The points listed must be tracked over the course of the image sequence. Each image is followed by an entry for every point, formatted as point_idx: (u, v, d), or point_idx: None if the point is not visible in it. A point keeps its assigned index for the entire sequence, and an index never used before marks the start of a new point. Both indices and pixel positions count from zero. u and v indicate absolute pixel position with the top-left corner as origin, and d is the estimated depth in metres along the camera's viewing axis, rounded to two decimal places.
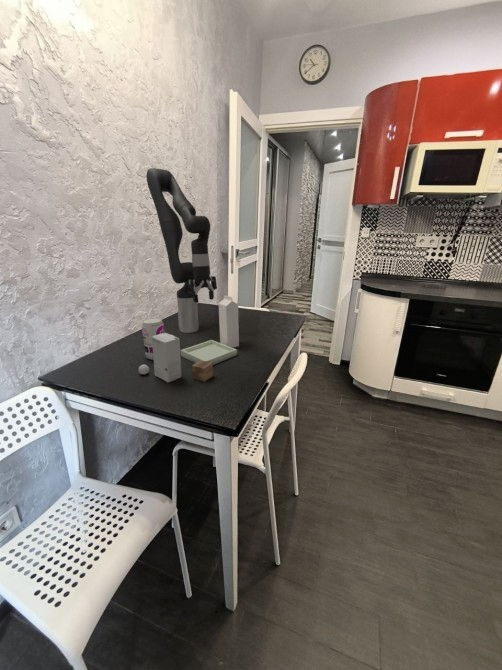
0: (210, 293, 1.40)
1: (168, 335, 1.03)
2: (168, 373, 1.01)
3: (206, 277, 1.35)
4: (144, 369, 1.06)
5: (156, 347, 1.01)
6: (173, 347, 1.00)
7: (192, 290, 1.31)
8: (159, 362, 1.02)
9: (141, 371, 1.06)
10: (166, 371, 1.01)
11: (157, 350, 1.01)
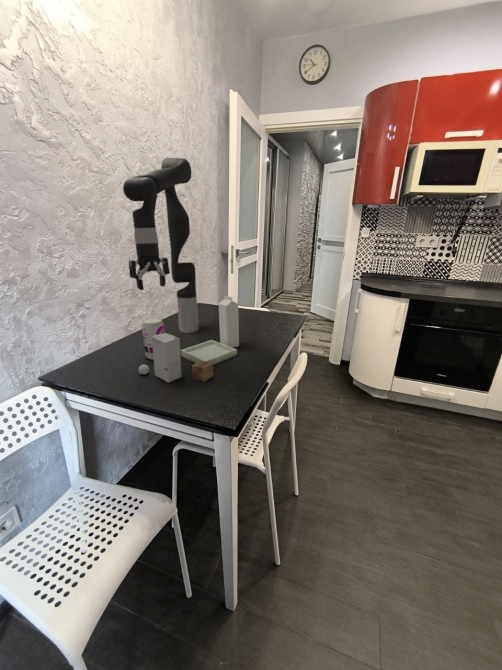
0: (161, 279, 1.13)
1: (168, 335, 1.03)
2: (168, 373, 1.01)
3: (154, 258, 1.08)
4: (144, 369, 1.06)
5: (156, 347, 1.01)
6: (173, 347, 1.00)
7: (134, 274, 1.04)
8: (159, 362, 1.02)
9: (141, 371, 1.06)
10: (166, 371, 1.01)
11: (157, 350, 1.01)
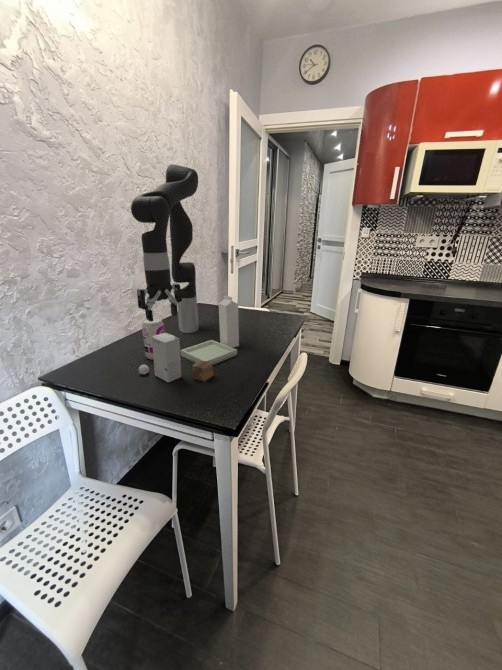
0: (172, 307, 1.01)
1: (168, 335, 1.03)
2: (168, 373, 1.01)
3: (165, 285, 0.96)
4: (144, 369, 1.06)
5: (156, 347, 1.01)
6: (173, 347, 1.00)
7: (143, 304, 0.92)
8: (159, 362, 1.02)
9: (141, 371, 1.06)
10: (166, 371, 1.01)
11: (157, 350, 1.01)
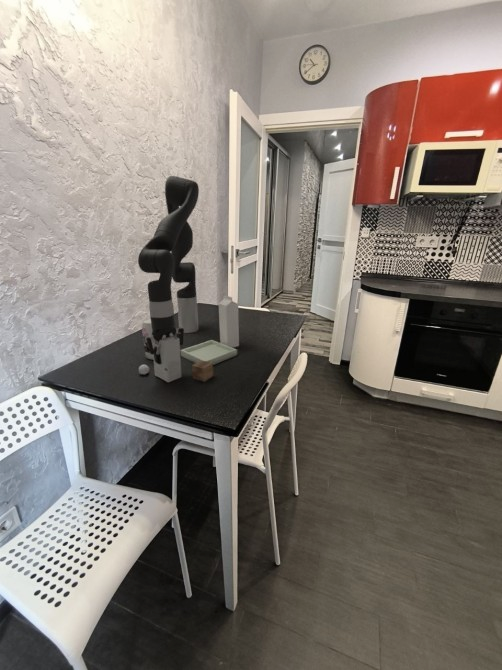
0: None
1: None
2: (168, 373, 1.01)
3: (170, 329, 1.01)
4: (144, 369, 1.06)
5: None
6: (173, 347, 1.00)
7: (151, 350, 0.98)
8: None
9: (141, 371, 1.06)
10: (166, 371, 1.01)
11: None
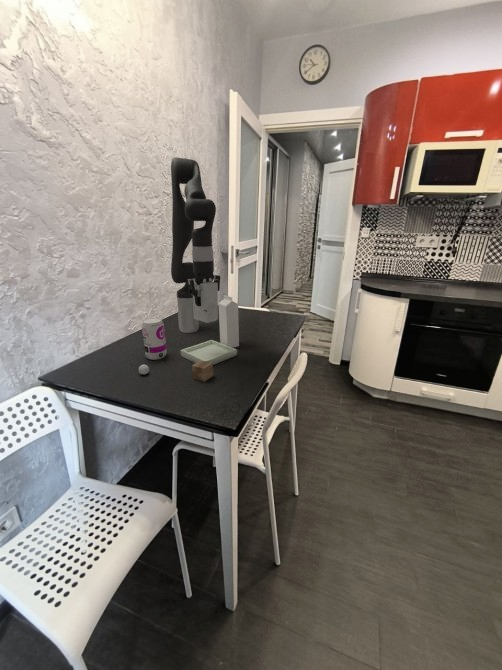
0: None
1: None
2: (207, 314, 1.12)
3: (209, 275, 1.12)
4: (144, 369, 1.06)
5: (197, 290, 1.12)
6: (212, 290, 1.11)
7: (194, 291, 1.09)
8: None
9: (141, 371, 1.06)
10: (206, 312, 1.12)
11: None
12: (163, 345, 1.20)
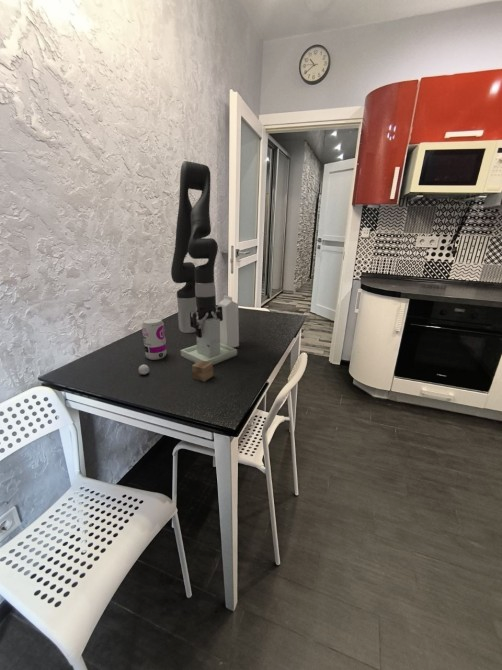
0: None
1: None
2: (210, 349, 1.17)
3: (211, 308, 1.17)
4: (144, 369, 1.06)
5: None
6: (215, 326, 1.16)
7: (195, 324, 1.13)
8: (202, 339, 1.19)
9: (141, 371, 1.06)
10: (209, 347, 1.17)
11: (201, 329, 1.18)
12: (163, 345, 1.20)
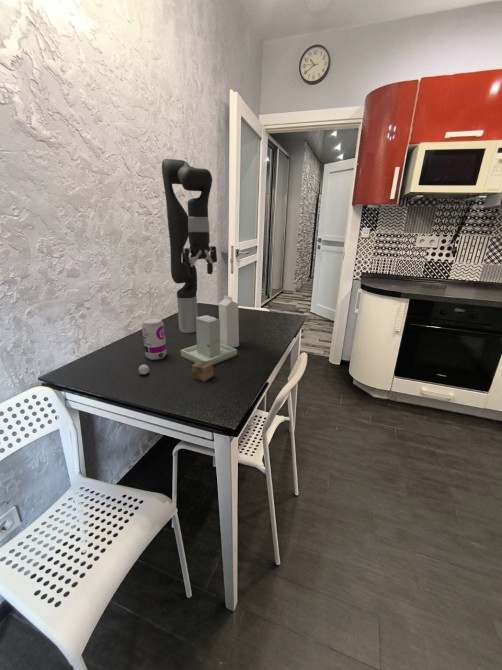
0: (209, 266, 1.18)
1: (210, 317, 1.19)
2: (210, 349, 1.17)
3: (204, 246, 1.13)
4: (144, 369, 1.06)
5: (200, 326, 1.18)
6: (215, 326, 1.16)
7: (187, 261, 1.09)
8: (202, 339, 1.19)
9: (141, 371, 1.06)
10: (209, 347, 1.17)
11: (201, 329, 1.18)
12: (163, 345, 1.20)
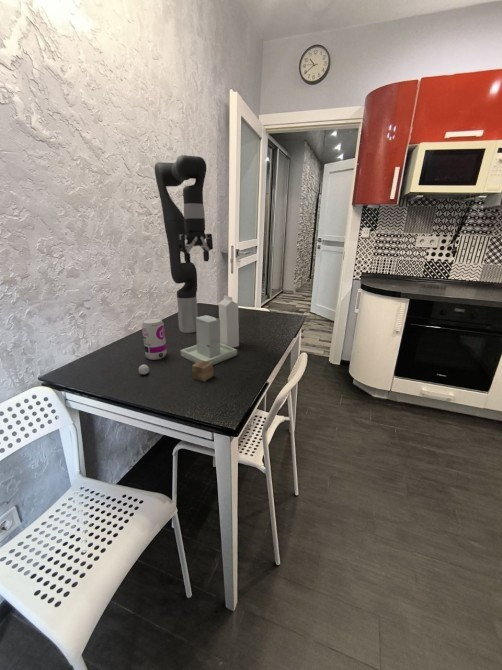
0: (205, 254, 1.20)
1: (210, 317, 1.19)
2: (210, 349, 1.17)
3: (200, 233, 1.15)
4: (144, 369, 1.06)
5: (200, 326, 1.18)
6: (215, 326, 1.16)
7: (183, 247, 1.11)
8: (202, 339, 1.19)
9: (141, 371, 1.06)
10: (209, 347, 1.17)
11: (201, 329, 1.18)
12: (163, 345, 1.20)
